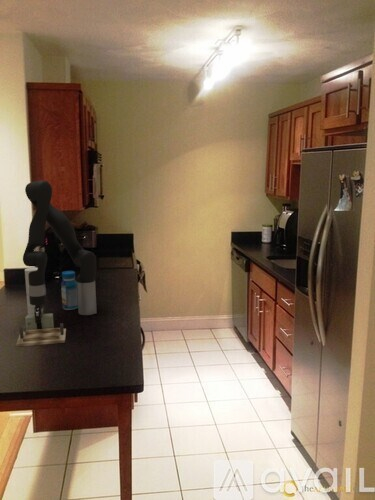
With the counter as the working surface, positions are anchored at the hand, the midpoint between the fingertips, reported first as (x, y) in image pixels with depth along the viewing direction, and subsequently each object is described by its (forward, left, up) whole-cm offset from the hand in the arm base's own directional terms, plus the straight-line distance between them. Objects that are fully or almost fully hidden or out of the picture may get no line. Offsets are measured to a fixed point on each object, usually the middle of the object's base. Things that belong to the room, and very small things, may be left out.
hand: (40, 328), depth 206 cm
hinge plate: (-2, +11, -1) cm, 11 cm away
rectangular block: (0, 0, -1) cm, 1 cm away
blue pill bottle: (-13, -30, -1) cm, 33 cm away
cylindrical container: (+4, -20, -1) cm, 20 cm away
